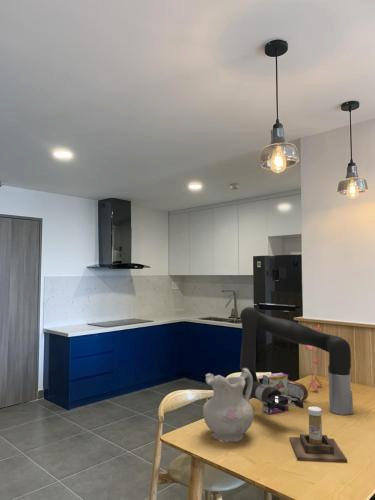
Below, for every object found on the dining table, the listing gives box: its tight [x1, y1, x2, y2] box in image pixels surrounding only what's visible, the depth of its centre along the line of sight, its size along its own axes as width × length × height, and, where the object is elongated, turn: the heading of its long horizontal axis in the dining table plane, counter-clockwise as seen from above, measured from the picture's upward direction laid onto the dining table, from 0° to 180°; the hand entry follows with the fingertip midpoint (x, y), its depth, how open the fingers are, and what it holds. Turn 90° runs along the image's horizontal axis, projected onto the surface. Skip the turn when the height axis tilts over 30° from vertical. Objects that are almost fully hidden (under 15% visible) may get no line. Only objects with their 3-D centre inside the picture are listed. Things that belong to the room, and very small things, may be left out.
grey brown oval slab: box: [288, 379, 309, 402], centre depth 188 cm, size 15×3×8 cm, turn 40°
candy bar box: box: [262, 372, 289, 415], centre depth 171 cm, size 11×5×16 cm, turn 114°
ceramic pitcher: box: [202, 368, 255, 443], centre depth 146 cm, size 22×20×25 cm
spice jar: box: [307, 406, 323, 445], centre depth 133 cm, size 5×5×13 cm
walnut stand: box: [289, 433, 348, 463], centre depth 132 cm, size 16×16×4 cm
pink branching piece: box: [304, 324, 323, 393], centre depth 203 cm, size 15×26×35 cm, turn 149°
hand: (294, 407), depth 143 cm, fingers open, 8 cm apart
